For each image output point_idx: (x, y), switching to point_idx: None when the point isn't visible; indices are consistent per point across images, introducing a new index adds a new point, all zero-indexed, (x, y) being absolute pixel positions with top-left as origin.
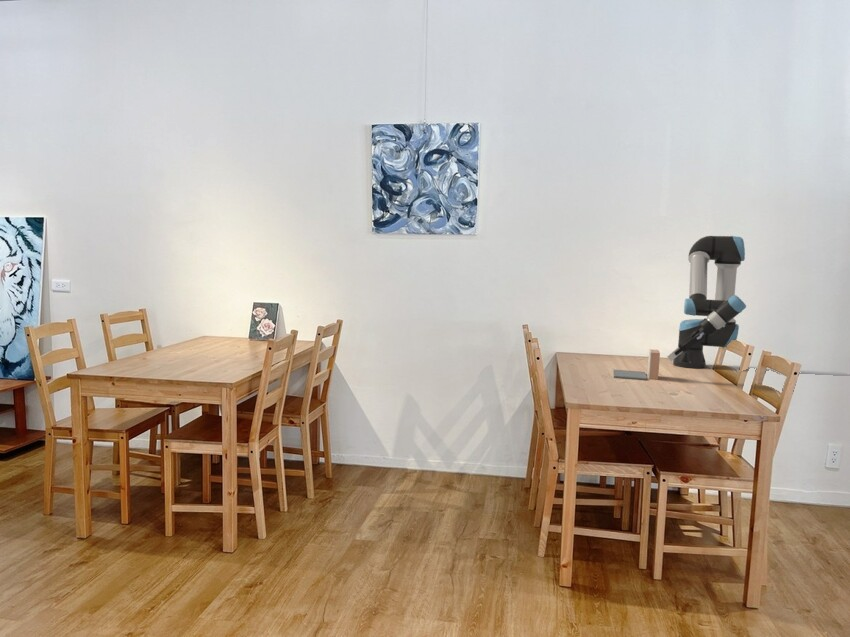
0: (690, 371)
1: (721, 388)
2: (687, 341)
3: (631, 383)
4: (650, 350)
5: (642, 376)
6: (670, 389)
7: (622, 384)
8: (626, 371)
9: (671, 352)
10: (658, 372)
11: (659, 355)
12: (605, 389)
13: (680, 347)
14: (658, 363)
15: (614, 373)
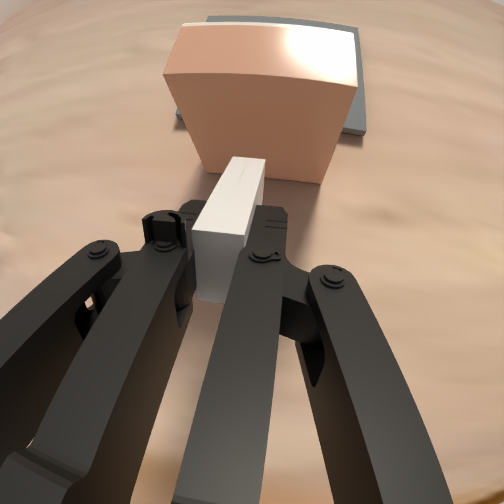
0: (497, 398)
1: None
2: (80, 351)
3: (118, 71)
4: (292, 29)
5: None
6: (28, 203)
7: (103, 51)
8: None
9: (249, 180)
10: (198, 153)
11: (169, 85)
12: (50, 34)
13: (150, 246)
14: (186, 119)
15: (264, 18)
